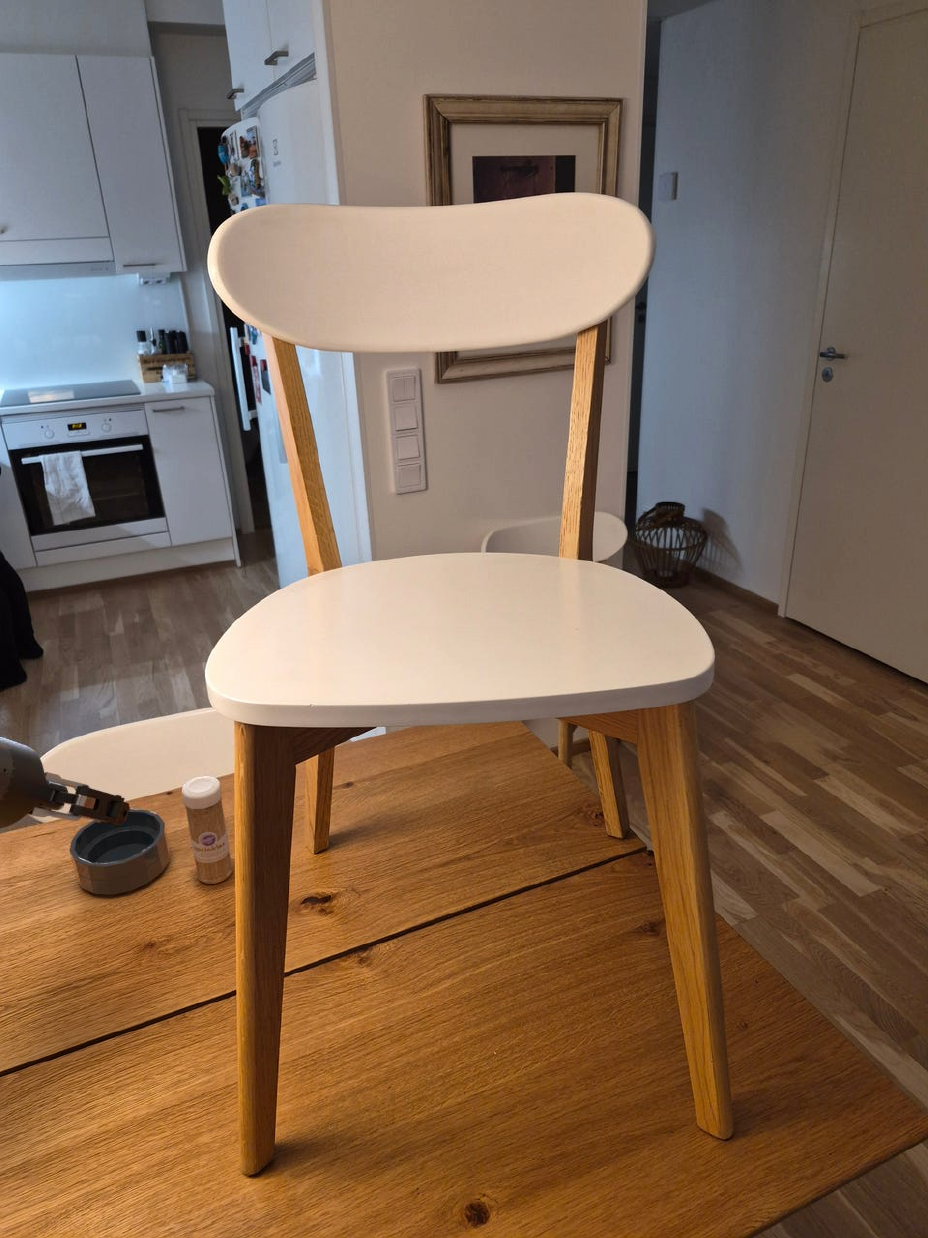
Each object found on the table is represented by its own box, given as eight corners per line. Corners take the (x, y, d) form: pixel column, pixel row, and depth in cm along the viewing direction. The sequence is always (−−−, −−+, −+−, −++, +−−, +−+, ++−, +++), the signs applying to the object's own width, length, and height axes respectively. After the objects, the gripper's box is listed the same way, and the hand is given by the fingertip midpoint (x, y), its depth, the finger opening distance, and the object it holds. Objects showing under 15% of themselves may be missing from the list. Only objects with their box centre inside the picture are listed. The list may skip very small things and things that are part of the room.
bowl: (60, 896, 102) (51, 863, 100) (105, 837, 112) (97, 807, 110) (147, 900, 101) (140, 868, 99) (184, 841, 111) (178, 811, 109)
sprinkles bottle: (202, 890, 102) (186, 801, 97) (192, 869, 106) (176, 781, 100) (238, 877, 104) (224, 788, 99) (228, 856, 108) (214, 770, 102)
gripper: (57, 744, 68) (160, 781, 83) (-82, 721, 71) (41, 761, 86) (24, 836, 65) (137, 857, 80) (-118, 807, 69) (15, 833, 84)
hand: (87, 807), depth 83 cm, fingers open, 8 cm apart
